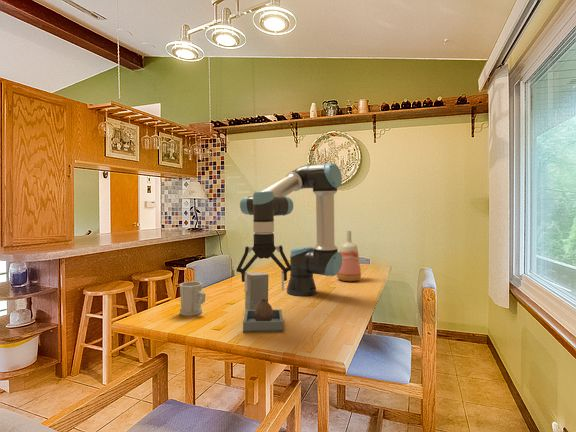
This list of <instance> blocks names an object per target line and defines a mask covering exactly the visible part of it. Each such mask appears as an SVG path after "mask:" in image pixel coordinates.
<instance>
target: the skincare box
mask: <svg viewBox="0 0 576 432" xmlns="http://www.w3.org/2000/svg"><path fill="white" fill-rule="evenodd" d="M244 292H245V298H244V303H245V304H244V306H245V307H244V311H246V310H255V308H256V306H257V305H258V304H259V302H260V300H261V299H267V301H268V302H269V273H265V272H247V291H245V290H244Z"/></svg>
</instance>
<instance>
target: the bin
mask: <svg viewBox="0 0 576 432" xmlns="http://www.w3.org/2000/svg"><path fill="white" fill-rule="evenodd" d="M272 310H273V318H272V320H271V321H256V320H255V317H254V312H255V310H244V311H245V312H244V316H243V321H242V333H278V332H279V333H283V332H284V319H283V312H282V311H283V310H282V309H279V308H278V309H272Z"/></svg>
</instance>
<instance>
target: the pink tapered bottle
mask: <svg viewBox="0 0 576 432" xmlns="http://www.w3.org/2000/svg"><path fill="white" fill-rule="evenodd" d="M345 240H346V241H345V242H344V243H341V245H340V246H339V250H338V252H339V253H341V255H342V266H341V269H340V271H339V272H338V274H337V275H336V277H337V279H338V280H340V281H342V282H347V281H348V282H350V283H351V282H352V281H353V282H357V281H359V280H360V279H361V277H362V272H361V264H360V257H359V255H360V254H359V250H358V246H357V244H356V243H354V242H352V230H347V231H346V239H345Z"/></svg>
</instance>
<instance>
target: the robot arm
mask: <svg viewBox="0 0 576 432" xmlns="http://www.w3.org/2000/svg"><path fill="white" fill-rule="evenodd" d="M342 182H343V177H342V172H341V169H340V168H339V166H338V165H337V164H336V163H333V162H326V163H314V164H306V165H302V166H300V167H298V168H295V169H294V170H292V171H290V172H287V174H286V175H285V177H283V178H281V180H278V181H277V182H275V183H273V184H272V185H270V186H269V187H267V188H265V189H263V190H256V191H253V195H252V196H244V197H242V198H241V200H240V203H239V208H240V209H239V210H240V211H241V213H242V214H244V215H249V216H253V219H252V220H253V226H252V227H253V228H252V229H253V232H254V234H253V246H248V245H246V246H245V247H244V248H245V249H244V253H243V255H242V258H241V260H240V261H239V264H238V265H237V268H236V273H240V274H241V282H242V283H244V292H245V291H247V273H248V269H249V268H250V267H251V266H252V265H253V263H254V262H255V261H256V260H257V259H270V258H271V259H272V261H274V262H275V263H276V265H278V267H279V268H280V269H281V270H282V271H281V291H285V282H287V281H288V284H287V286H286V293H287V294H288V295H291V296H298V297H308V296H313V295H316V294H317V286H316V283H315V280H314V275H319V276H320V275H321V276H325V277H334V276H337V274H338V272H339V271H340V269H341V266H342V255H341V253H339V250H338V248H339V247H338V246H337V245H335V195H336V193H337V192H338V188H340V187H341V186H342ZM303 189H312V193H313V194H314V195H315V205H316V206H315V210H316V211H315V212H316V213H315V214H316V221H315V222H316V226H315V227H316V245H315V246H314V247H313V246H303V247H302V246H301V247H294V248H291V251H290V255H289V259H290V262H289V260H288V259H287V256H286V254H285V252H284V247H283V245H282V244H280V245H278V246H275V234H274V232H275V220H274V219H275V218H274V217H277V216H278V217H279V216H280V217H281V216H283V217H284V216H287V215H289V214H291V213H292V212H293V210H294V202H293V199H292V198H291V197H289V196H288V195H289V194H292V193H293V192H298V191H300V190H303ZM251 251H253V253H254V254H253V255H252V257H251V259H249V260H248V262H247V263H246V264H245V266H244V267H243V265H244V263H245V260H246V259H247V257H248V254H249V253H251ZM276 251H277V253H279V254H280V256H281V258H282V261H283V262H284V264H285V265H286V266H285V265H284V264H283V263H282V262H281V261H280V259H278V257H276V255H275V252H276ZM242 267H243V268H242ZM288 272H290V275H289V279H288Z"/></svg>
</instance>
